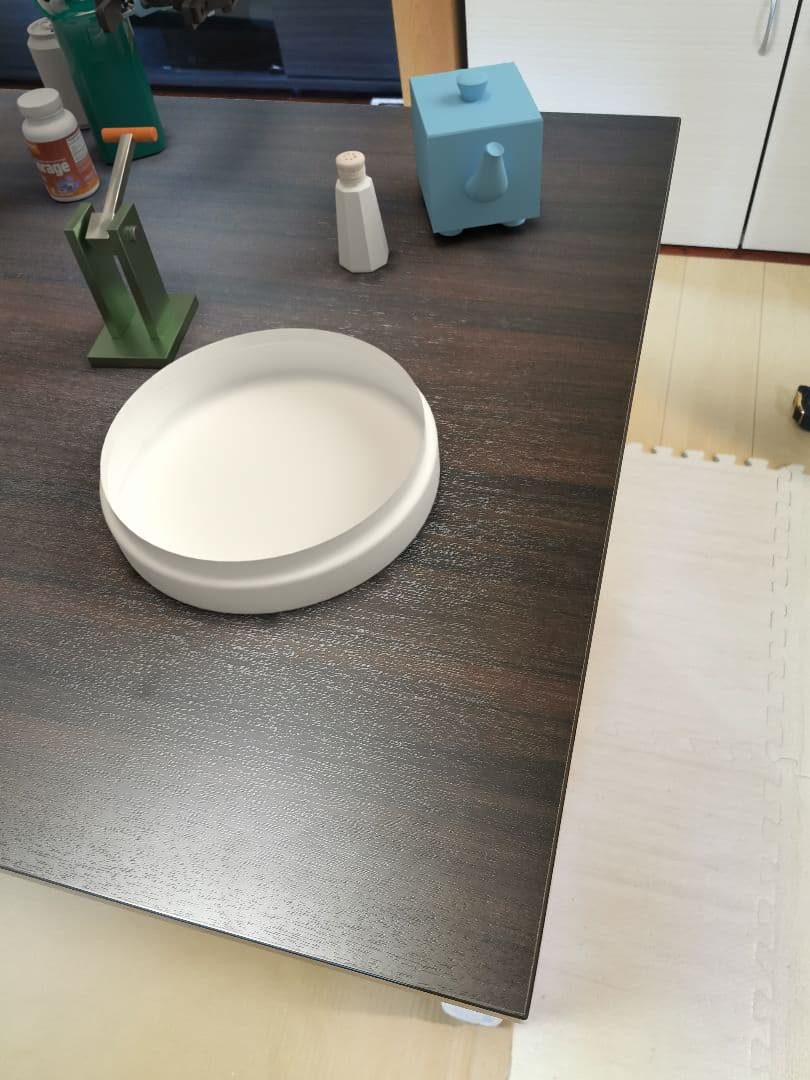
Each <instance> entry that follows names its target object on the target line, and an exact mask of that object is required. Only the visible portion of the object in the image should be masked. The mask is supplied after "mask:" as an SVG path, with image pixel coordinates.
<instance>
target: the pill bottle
mask: <svg viewBox="0 0 810 1080" xmlns="http://www.w3.org/2000/svg"><path fill="white" fill-rule="evenodd" d="M16 104H17V107H18V109H19V112H20V114H21V115H22V117H23V118H25V119H24V120H23V122H22V124H21V131H22V134H23V137H24V139H25V141H26V143H27V146H28V148H29V150H30V153H31V155H32V157H33V159H34V162H35V165H36V166H37V169H38V171H39V173H40V176H41V178H42V180H43V183H44V185H45V187H46V190H47V192H48V193H49V196H50V197H51V198H52V199H53V200H55V201H58V202H63V203H64V202H66V203H67V202H75V201H76V202H77V201H80V200H83V199H86V198H89V197H90V196H92V195H93V194H94V193H95V192H96V191H97V190H98V188H99V186H100V179H99V177H98V173H97V171H96V169H95V166H94V163H93V161H92V158H91V156H90V152H89V150H88V147H87V145H86V143H85V140H84V137H83V134H82V132H81V129H79V126H78V123H77V121H76V118H75V117H74V115H73V114H72V113H71V112H70V111H68V110H66V109H63V103H62V100H61V98H60V95H59V93H58V91H57V90H55V89H52V88H45V87H41V88H35V89H32V90H29V91H27V92H24V93H22V94H21V95H20V96H19V97H18V98H17V100H16Z"/></svg>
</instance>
